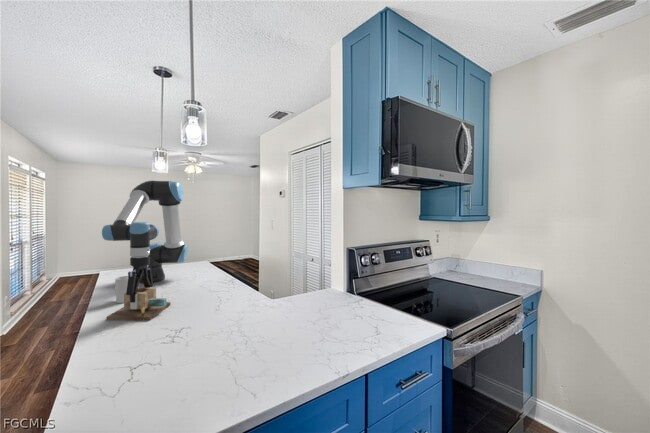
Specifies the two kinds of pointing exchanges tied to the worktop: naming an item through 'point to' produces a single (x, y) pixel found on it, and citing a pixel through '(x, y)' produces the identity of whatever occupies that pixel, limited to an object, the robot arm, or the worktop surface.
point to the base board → (137, 313)
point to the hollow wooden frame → (145, 298)
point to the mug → (121, 288)
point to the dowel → (142, 311)
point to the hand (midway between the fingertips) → (140, 305)
